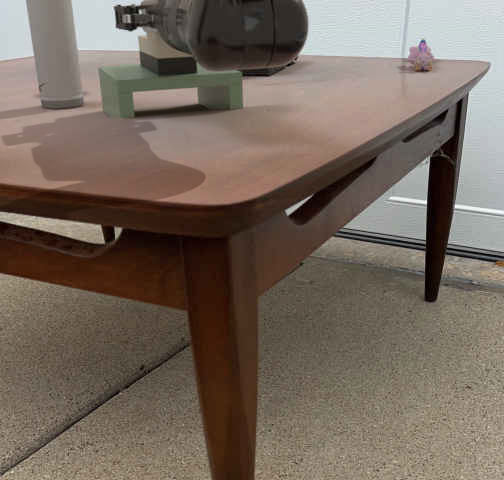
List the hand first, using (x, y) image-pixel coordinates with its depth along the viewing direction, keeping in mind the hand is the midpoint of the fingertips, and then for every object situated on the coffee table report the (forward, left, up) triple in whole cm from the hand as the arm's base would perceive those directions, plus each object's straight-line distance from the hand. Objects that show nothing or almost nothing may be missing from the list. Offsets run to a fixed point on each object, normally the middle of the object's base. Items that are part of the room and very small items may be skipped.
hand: (164, 13), depth 88 cm
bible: (+26, +48, -13) cm, 56 cm away
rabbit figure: (+58, +30, -13) cm, 66 cm away
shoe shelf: (0, +1, -13) cm, 13 cm away
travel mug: (-13, +16, -13) cm, 24 cm away
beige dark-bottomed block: (0, +1, -7) cm, 7 cm away
